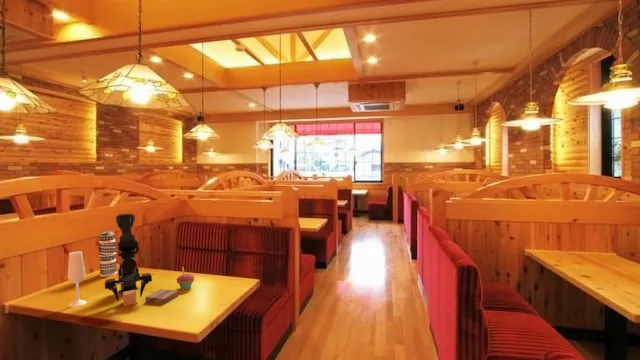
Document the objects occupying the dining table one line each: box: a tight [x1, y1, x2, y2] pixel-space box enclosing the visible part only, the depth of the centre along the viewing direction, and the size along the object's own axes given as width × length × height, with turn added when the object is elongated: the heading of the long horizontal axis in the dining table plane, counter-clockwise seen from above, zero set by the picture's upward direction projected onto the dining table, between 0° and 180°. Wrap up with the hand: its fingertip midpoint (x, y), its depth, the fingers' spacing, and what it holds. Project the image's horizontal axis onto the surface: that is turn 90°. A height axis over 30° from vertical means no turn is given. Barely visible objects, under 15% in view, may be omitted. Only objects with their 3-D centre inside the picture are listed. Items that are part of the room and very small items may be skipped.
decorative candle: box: [97, 230, 118, 278], centre depth 197 cm, size 9×9×25 cm
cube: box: [122, 290, 137, 307], centre depth 156 cm, size 5×5×5 cm
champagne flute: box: [67, 250, 88, 308], centre depth 155 cm, size 7×7×24 cm
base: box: [145, 288, 179, 305], centre depth 160 cm, size 10×10×2 cm
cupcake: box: [176, 265, 195, 290], centre depth 174 cm, size 9×8×12 cm
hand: (129, 298), depth 156 cm, fingers open, 9 cm apart
